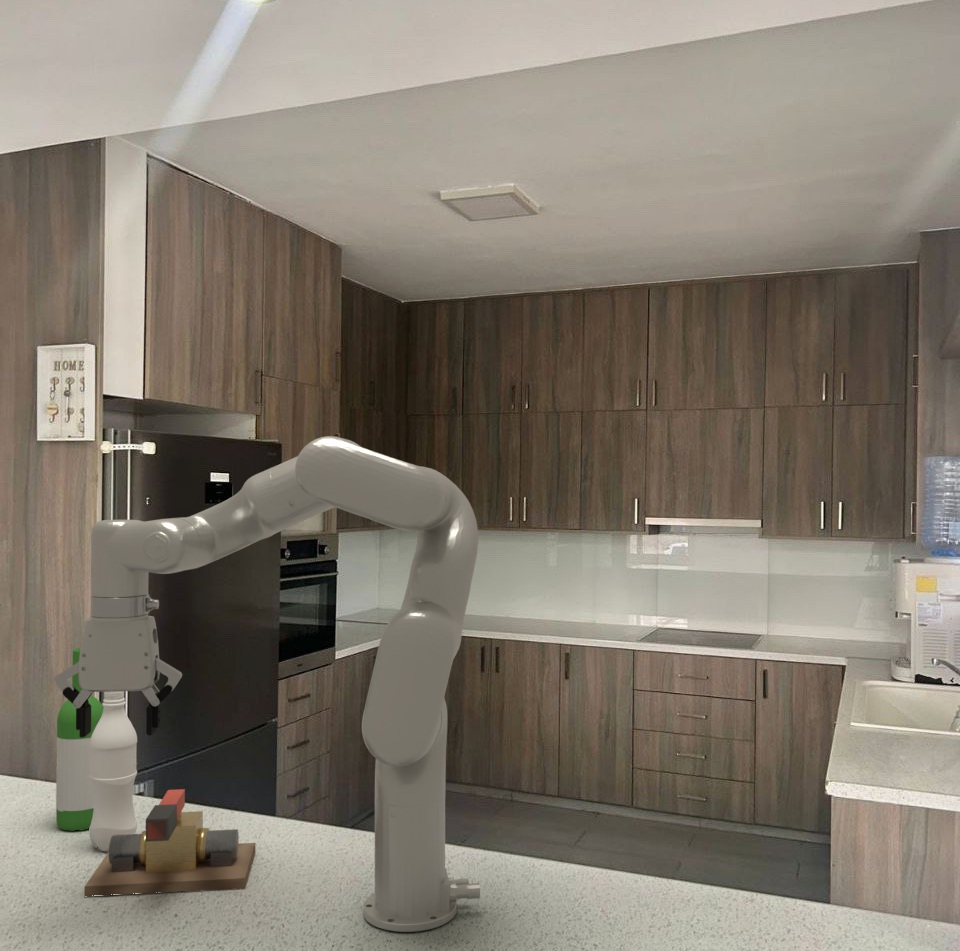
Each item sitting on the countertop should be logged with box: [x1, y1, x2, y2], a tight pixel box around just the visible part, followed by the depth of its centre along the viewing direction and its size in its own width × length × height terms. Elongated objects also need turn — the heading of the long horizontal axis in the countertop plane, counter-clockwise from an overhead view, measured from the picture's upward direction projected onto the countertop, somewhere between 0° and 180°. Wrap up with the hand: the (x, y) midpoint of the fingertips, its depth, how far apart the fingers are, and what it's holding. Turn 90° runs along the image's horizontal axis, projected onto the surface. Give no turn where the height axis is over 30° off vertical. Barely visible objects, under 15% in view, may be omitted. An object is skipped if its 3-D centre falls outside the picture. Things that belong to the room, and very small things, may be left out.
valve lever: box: [145, 788, 186, 842], centre depth 136 cm, size 3×14×4 cm, turn 7°
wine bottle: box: [55, 647, 104, 832], centre depth 163 cm, size 8×8×30 cm
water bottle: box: [88, 691, 138, 852], centre depth 154 cm, size 7×7×25 cm
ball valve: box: [108, 810, 240, 873], centre depth 142 cm, size 18×6×6 cm, turn 97°
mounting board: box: [84, 842, 256, 898], centre depth 142 cm, size 22×14×2 cm, turn 97°
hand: (118, 733), depth 132 cm, fingers open, 8 cm apart
